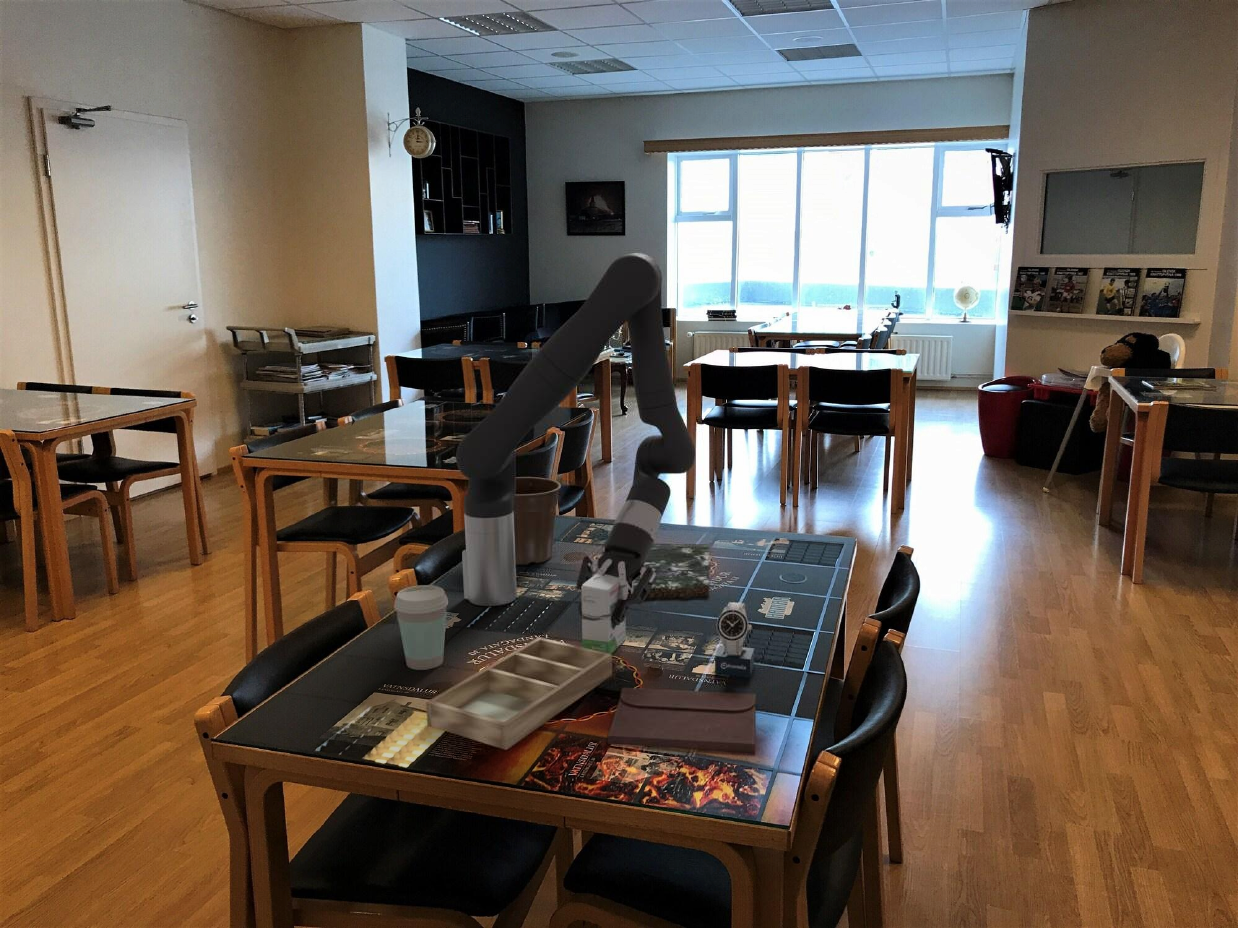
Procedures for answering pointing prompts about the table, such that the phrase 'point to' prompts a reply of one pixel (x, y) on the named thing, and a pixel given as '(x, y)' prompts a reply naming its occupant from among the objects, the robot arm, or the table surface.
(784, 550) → the table surface
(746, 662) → the watch
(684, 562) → the topographical map
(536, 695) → the compartment tray
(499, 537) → the robot arm
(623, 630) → the ink box
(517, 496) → the plant pot
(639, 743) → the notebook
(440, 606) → the coffee cup
